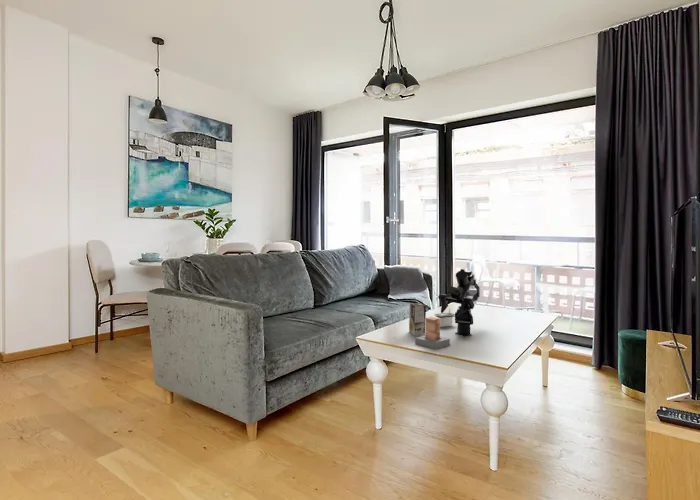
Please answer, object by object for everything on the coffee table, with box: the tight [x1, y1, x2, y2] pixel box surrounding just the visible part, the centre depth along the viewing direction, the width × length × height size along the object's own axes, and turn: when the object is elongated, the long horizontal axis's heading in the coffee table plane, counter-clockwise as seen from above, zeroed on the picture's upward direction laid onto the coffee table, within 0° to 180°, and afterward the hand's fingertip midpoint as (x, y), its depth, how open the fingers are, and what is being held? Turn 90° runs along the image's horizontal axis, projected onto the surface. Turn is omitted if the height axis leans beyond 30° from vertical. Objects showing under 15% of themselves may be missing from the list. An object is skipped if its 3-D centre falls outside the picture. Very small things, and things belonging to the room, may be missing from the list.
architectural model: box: [434, 308, 455, 328], centre depth 235 cm, size 20×25×10 cm
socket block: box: [414, 335, 451, 350], centre depth 196 cm, size 12×12×3 cm
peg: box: [425, 316, 441, 341], centre depth 196 cm, size 5×5×13 cm
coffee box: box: [408, 302, 427, 337], centre depth 215 cm, size 9×6×16 cm
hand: (449, 314), depth 202 cm, fingers open, 9 cm apart
